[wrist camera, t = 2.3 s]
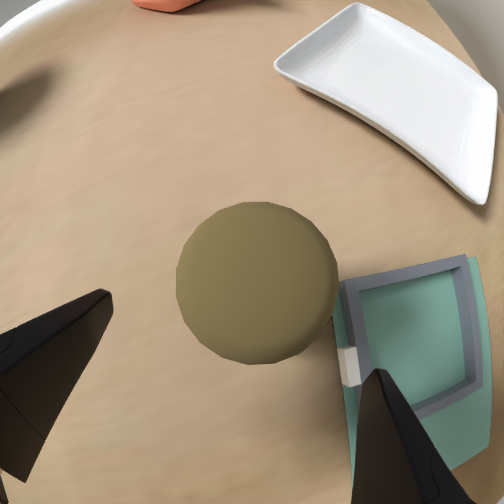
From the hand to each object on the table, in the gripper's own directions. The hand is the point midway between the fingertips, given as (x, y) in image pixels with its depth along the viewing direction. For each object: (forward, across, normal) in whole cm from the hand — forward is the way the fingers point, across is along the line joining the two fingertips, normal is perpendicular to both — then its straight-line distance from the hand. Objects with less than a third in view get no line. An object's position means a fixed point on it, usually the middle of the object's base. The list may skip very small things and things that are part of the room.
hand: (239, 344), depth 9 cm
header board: (+6, -15, +7) cm, 17 cm away
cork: (+8, 0, +5) cm, 10 cm away
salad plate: (+26, -10, -11) cm, 30 cm away
